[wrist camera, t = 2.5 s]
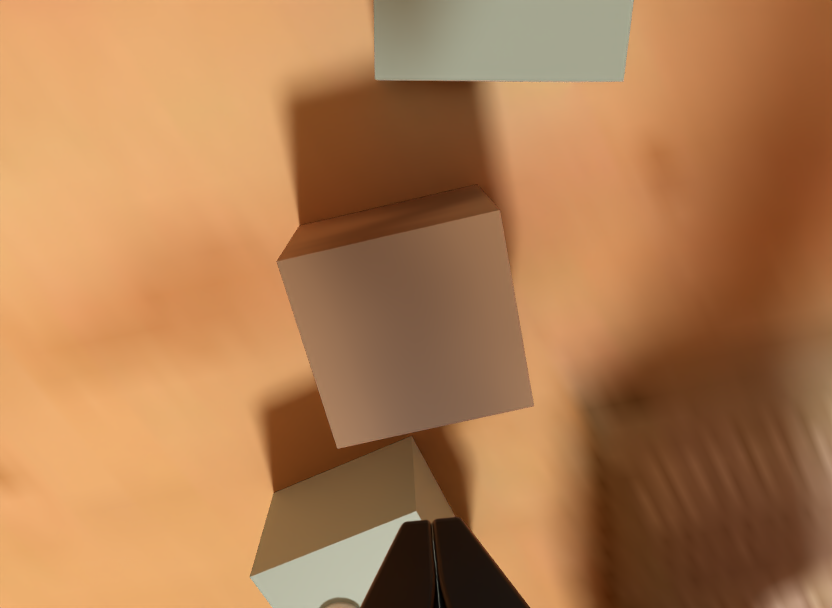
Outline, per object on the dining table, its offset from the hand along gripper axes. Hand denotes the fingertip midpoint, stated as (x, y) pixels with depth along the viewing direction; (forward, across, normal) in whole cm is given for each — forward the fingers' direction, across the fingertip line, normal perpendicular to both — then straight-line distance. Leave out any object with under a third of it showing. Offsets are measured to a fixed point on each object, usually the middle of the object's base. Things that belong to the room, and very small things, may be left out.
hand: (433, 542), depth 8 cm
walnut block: (+11, 0, 0) cm, 11 cm away
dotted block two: (+11, +2, +9) cm, 14 cm away
